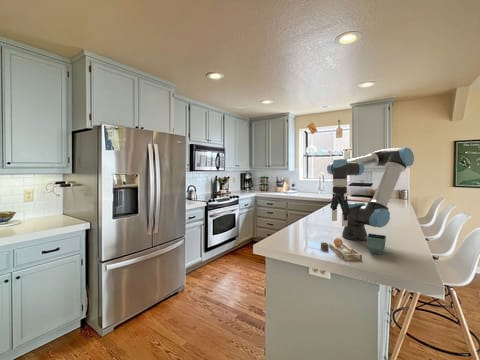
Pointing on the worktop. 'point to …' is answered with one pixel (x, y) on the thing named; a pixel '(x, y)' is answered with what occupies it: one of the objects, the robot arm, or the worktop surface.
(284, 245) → the worktop surface
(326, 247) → the wooden square sleeve
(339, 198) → the robot arm
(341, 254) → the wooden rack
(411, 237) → the worktop surface
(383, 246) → the flower pot
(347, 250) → the runway
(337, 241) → the ball
